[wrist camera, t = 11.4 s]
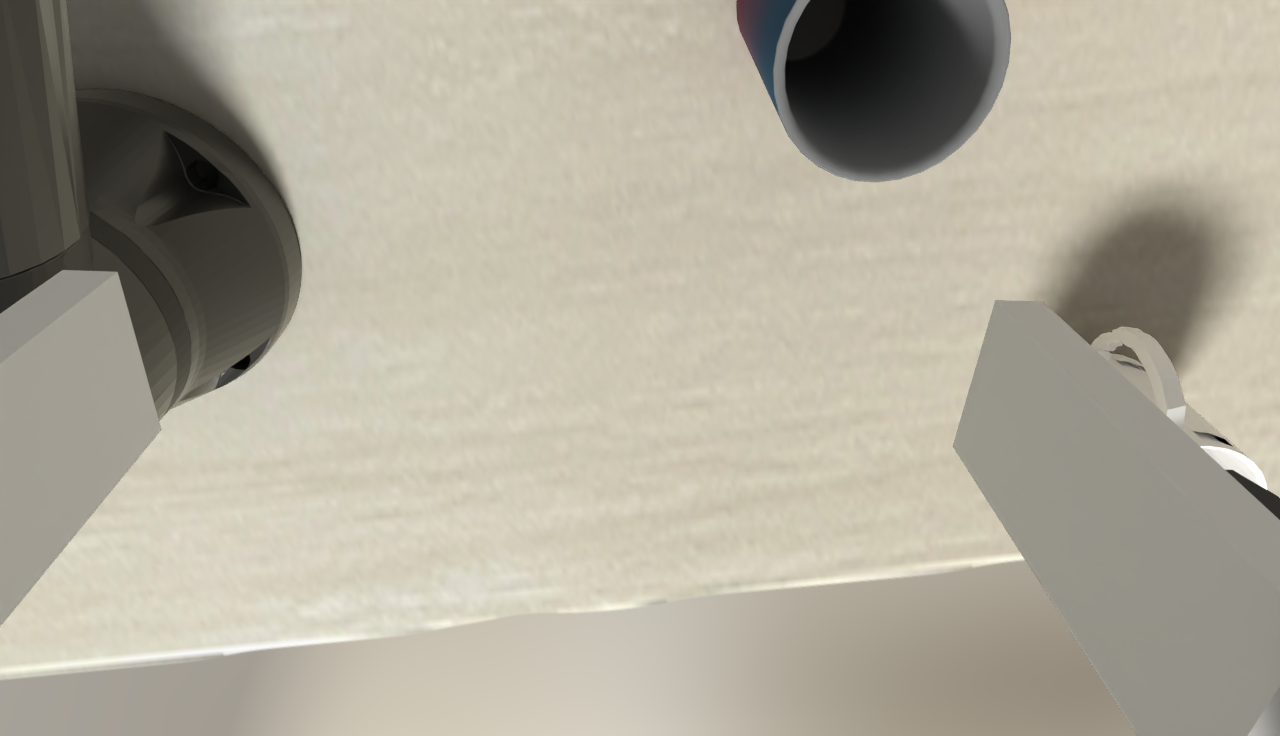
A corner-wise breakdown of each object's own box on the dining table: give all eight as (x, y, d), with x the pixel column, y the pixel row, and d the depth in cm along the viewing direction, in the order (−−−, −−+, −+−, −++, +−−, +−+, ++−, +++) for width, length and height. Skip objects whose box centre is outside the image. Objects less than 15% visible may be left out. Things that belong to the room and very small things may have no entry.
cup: (735, -96, 35) (808, -91, 22) (890, -65, 36) (1050, -42, 22) (702, 71, 38) (748, 163, 25) (844, 97, 39) (961, 199, 26)
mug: (1122, 483, 51) (1219, 594, 43) (978, 476, 50) (1049, 588, 42) (1203, 305, 45) (1333, 396, 37) (1041, 295, 44) (1138, 385, 36)
